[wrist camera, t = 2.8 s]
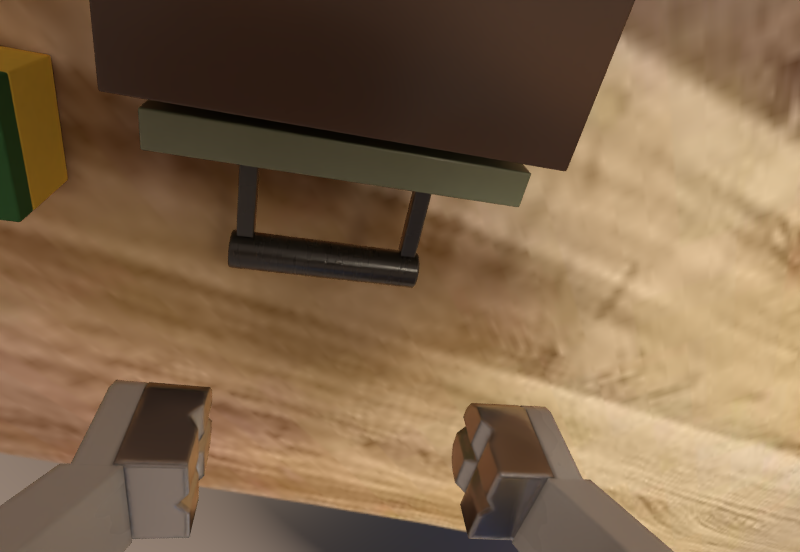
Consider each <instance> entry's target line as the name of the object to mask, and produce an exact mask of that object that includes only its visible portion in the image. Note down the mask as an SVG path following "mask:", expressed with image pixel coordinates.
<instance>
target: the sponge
mask: <svg viewBox="0 0 800 552" xmlns="http://www.w3.org/2000/svg"><path fill="white" fill-rule="evenodd" d="M67 180H68V176H67V169H66V162H65V155H64V148H63V141H62V134H61V127H60V120H59V113H58V106H57V99H56V92H55V85H54V78H53V70H52V63H51V57H50V55H47V54H41V53H36V52H31V51H25V50H20V49H14V48H9V47H3V46H0V220H6V221H14V222H21V221H22V220H23V219H24V218H25V217H27V216H28V215H29V214H30V213H31V212H32V211H33V210H34V209H36V208H37V207H38V206H39V205H40V204H41V203H42V202H43V201H45V200H46V199H47V198H48V197H49V196H50V195H51V194H52V193H53V192H55V191H56V190H57V189H58V188H59V187H60V186H61V185H62V184H63V183H65V182H66V181H67Z"/></svg>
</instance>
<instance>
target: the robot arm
mask: <svg viewBox="0 0 800 552" xmlns="http://www.w3.org/2000/svg"><path fill="white" fill-rule="evenodd" d="M211 405H212V389H211V387H200V386H188V385H177V384H165V383H153V382H149V383H147V382H135V381H123V380H116V381H115V382H114V383H113V384H112V385H111V386H110V387H109V388H108V390H107V392H106V394H105V396H104V398H103V400H102V402H101V404H100V406H99V408H98V410H97V412H96V414H95V416H94V418H93V420H92V422H91V424H90V426H89V428H88V430H87V432H86V434H85V436H84V438H83V440H82V442H81V444H80V446H79V448H78V450H77V452H76V454H75V456H74V458H73V460H72V462H71V464H59V465H57V466H56V467H54V468H53V469H52V470H50V471H49V472H47V473H46V474H45V475H43V476H42V477H40V478H39V479H38V480H36V481H35V482H33V483H32V484H30V485H29V486H28V487H27V488H25V489H24V490H22V491H21V492H19V493H18V494H16V495H15V496H14V497H12V498H11V499H9V500H8V501H6V502H5V503H4V504H2V505H1V506H0V552H124V551H125V550H126V548H127V547H128V546H129V545H130V544H131V543H132V539H147V538H148V539H149V538H189V536H190V532H191V528H192V524H193V520H194V516H195V511H196V507H197V503H198V491H199V490H198V489H199V480H200V479H201V478H202V477H203V476H204V474H205V469H206V465H207V460H208V454H209V448H210V441H211V430H212V420H211V419H210V418H209V413H210V409H211ZM463 418H464V421H465V425H466V427H464V428H463V429H462V430H460V431H459V432H457V434H456V437H455V440H454V443H453V449H452V469H453V475H454V479H455V483H456V484H457V485H458V486H459V487H460V488H461V489H462V490H463V491H464V492H465V494H464V497H463V499H462V501H461V504H460V505H461V509H462V514H463V518H464V522H465V526H466V530H467V534H468V538H469V539H499V540H513V541H512V543H513V544H514V546H515V547H516V548H517V550H518V551H519V552H674V551H672V550H671V549H670V548H669V547H668V546H667V545H665V544H664V543H663V542H662V541H661V540H660V539H659V538H657V537H656V536H655V535H654V534H653V533H652V532H650V531H649V530H648V529H647V528H646V527H645V526H643V525H642V524H641V523H640V522H639V521H638V520H636V519H635V518H634V517H633V516H632V515H631V514H629V513H628V512H627V511H626V510H625V509H624V508H622V507H621V506H620V505H619V504H618V503H617V502H615V501H614V500H613V499H612V498H611V497H610V496H609V495H607V494H606V493H605V492H604V491H603V490H602V489H600V488H599V487H598V486H597V485H596V484H595V483H593V482H592V481H591V480H586V479H583V478H582V476H581V474H580V472H579V470H578V468H577V466H576V464H575V462H574V460H573V458H572V456H571V454H570V451H569V449H568V447H567V445H566V443H565V441H564V439H563V437H562V435H561V433H560V431H559V429H558V426H557V424H556V422H555V420H554V418H553V416H552V414H551V412H550V411H549V410H548V409H547V408H546V407H538V406H518V405H501V404H481V403H471V404H470V405H469V406H468V407H467V409H466V411H465V414H464V416H463Z"/></svg>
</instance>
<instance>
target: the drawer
mask: <svg viewBox="0 0 800 552" xmlns="http://www.w3.org/2000/svg"><path fill="white" fill-rule="evenodd" d="M138 119H139V135H140V148H141V149H142V150H146V151H153V152H159V153H166V154H173V155H179V156H186V157H192V158H199V159H205V160H212V161H218V162H225V163H232V164H238V165H239V187H238V209H237V230H233V231H232V233H231V237H230V242H229V250H228V265H229V267H231V268H240V269H249V270H258V271H267V272H276V273H285V274H294V275H303V276H311V277H320V278H329V279H338V280H347V281H356V282H365V283H374V284H383V285H392V286H401V287H410V288H412V287H414V286H415V284H416V282H417V278H418V273H419V256H418V254H417V253H416V251H417V248H418V244H419V240H420V236H421V232H422V228H423V225H424V221H425V217H426V213H427V209H428V205H429V202H430V198H431V194H435V195H441V196H448V197H454V198H461V199H467V200H474V201H480V202H487V203H494V204H500V205H507V206H513V207H519V206H520V203H521V200H522V198H523V195H524V192H525V189H526V187H527V184H528V181H529V179H530V176H531V173H530V172H529V171H528V170H527V169H526V167H525V166H524V165H523V164H519V163H514V162H508V161H502V160H496V159H490V158H485V157H479V156H473V155H467V154H461V153H456V152H450V151H444V150H438V149H432V148H427V147H421V146H415V145H409V144H403V143H397V142H392V141H386V140H380V139H374V138H368V137H363V136H357V135H351V134H345V133H339V132H334V131H328V130H322V129H316V128H310V127H305V126H299V125H293V124H287V123H281V122H276V121H270V120H264V119H258V118H252V117H246V116H241V115H235V114H229V113H223V112H217V111H212V110H206V109H200V108H194V107H188V106H183V105H177V104H171V103H165V102H159V101H154V100H146V101H145V102H144V103H143V104H142V105H141V106H139V107H138ZM260 168H264V169H271V170H277V171H284V172H290V173H297V174H304V175H310V176H317V177H323V178H330V179H336V180H343V181H349V182H356V183H363V184H369V185H376V186H382V187H389V188H395V189H402V190H408V191H412V195H411V199H410V203H409V207H408V212H407V216H406V220H405V224H404V228H403V232H402V237H401V241H400V245H399V250H392V249H384V248H376V247H368V246H360V245H352V244H345V243H337V242H329V241H321V240H313V239H305V238H297V237H289V236H282V235H274V234H266V233H258V232H255V228H256V213H257V198H258V184H259V169H260Z"/></svg>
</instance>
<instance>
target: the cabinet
mask: <svg viewBox="0 0 800 552" xmlns="http://www.w3.org/2000/svg"><path fill="white" fill-rule="evenodd" d="M634 1H635V0H89V2H90V12H91V22H92V32H93V42H94V52H95V63H96V73H97V83H98V89H99V91H101V92H107V93H113V94H119V95H124V96H130V97H136V98H142V99H148V100H154V101H159V102H165V103H171V104H177V105H183V106H188V107H194V108H200V109H206V110H212V111H217V112H223V113H229V114H235V115H241V116H246V117H252V118H258V119H264V120H270V121H276V122H281V123H287V124H293V125H299V126H305V127H310V128H316V129H322V130H328V131H334V132H339V133H345V134H351V135H357V136H363V137H368V138H374V139H380V140H386V141H392V142H397V143H403V144H409V145H415V146H421V147H427V148H432V149H438V150H444V151H450V152H456V153H461V154H467V155H473V156H479V157H485V158H490V159H496V160H502V161H508V162H514V163H519V164H525V165H531V166H537V167H543V168H549V169H554V170H560V171H566V170H567V168H568V166H569V163H570V161H571V158H572V156H573V153H574V151H575V148H576V146H577V143H578V141H579V138H580V136H581V133H582V131H583V128H584V126H585V123H586V121H587V118H588V116H589V113H590V111H591V108H592V106H593V103H594V101H595V98H596V96H597V93H598V91H599V88H600V86H601V83H602V81H603V79H604V76H605V74H606V71H607V69H608V66H609V64H610V61H611V59H612V56H613V54H614V51H615V49H616V46H617V44H618V41H619V39H620V36H621V34H622V31H623V29H624V26H625V24H626V21H627V19H628V16H629V14H630V11H631V9H632V6H633V4H634Z"/></svg>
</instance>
